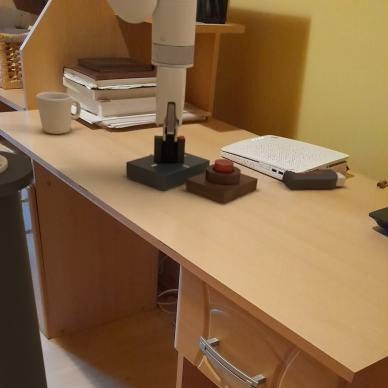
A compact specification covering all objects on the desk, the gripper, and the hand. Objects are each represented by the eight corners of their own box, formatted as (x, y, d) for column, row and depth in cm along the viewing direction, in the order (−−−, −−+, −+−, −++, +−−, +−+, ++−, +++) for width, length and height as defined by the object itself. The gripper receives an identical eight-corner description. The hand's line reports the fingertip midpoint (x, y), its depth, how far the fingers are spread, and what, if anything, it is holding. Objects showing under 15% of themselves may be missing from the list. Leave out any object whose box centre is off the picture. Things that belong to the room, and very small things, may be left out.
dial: (153, 161, 102) (154, 136, 99) (153, 158, 104) (154, 134, 101) (184, 163, 103) (185, 138, 100) (183, 160, 104) (185, 135, 101)
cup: (72, 124, 131) (70, 89, 126) (90, 131, 126) (88, 96, 121) (33, 129, 125) (29, 93, 120) (50, 138, 120) (47, 100, 115)
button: (225, 175, 96) (226, 166, 95) (210, 170, 98) (210, 161, 97) (236, 171, 99) (237, 162, 98) (221, 166, 100) (222, 157, 99)
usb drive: (281, 180, 107) (283, 167, 105) (335, 180, 109) (338, 167, 108) (290, 190, 103) (293, 176, 101) (345, 189, 105) (349, 175, 104)
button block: (223, 204, 95) (225, 182, 92) (185, 190, 99) (186, 169, 97) (256, 189, 102) (259, 169, 99) (219, 177, 106) (221, 157, 104)
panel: (164, 191, 98) (164, 174, 96) (125, 177, 103) (125, 160, 101) (209, 174, 107) (210, 159, 105) (172, 162, 112) (172, 147, 110)
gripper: (152, 47, 98) (150, 147, 109) (150, 61, 85) (149, 172, 96) (191, 50, 98) (186, 149, 110) (196, 64, 86) (189, 174, 97)
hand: (169, 159), depth 103 cm, fingers closed on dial, 2 cm apart
